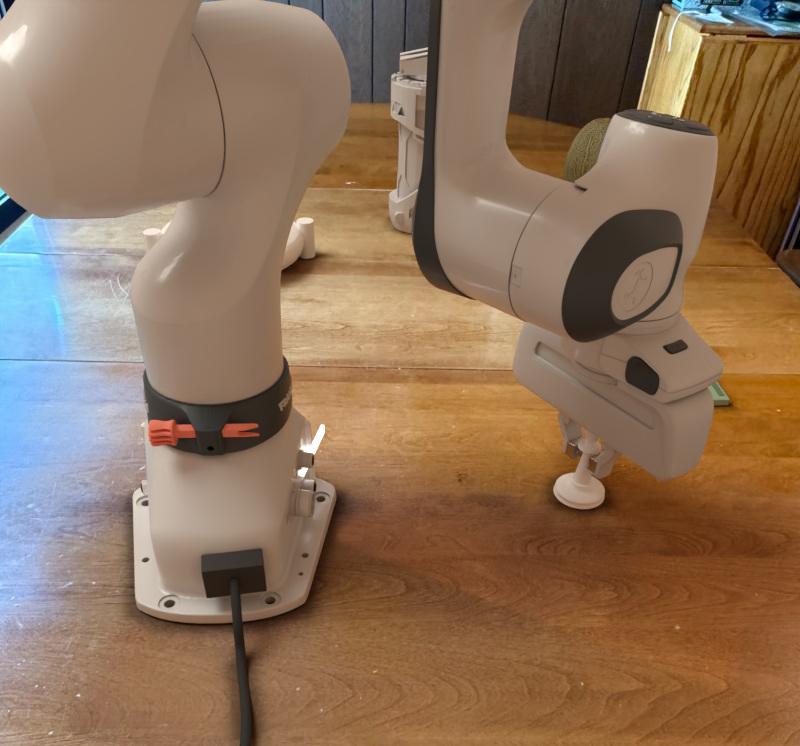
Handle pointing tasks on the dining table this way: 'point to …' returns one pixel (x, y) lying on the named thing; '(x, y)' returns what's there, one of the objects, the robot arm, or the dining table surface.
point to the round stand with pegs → (297, 245)
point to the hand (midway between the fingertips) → (585, 464)
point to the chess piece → (581, 479)
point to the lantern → (408, 134)
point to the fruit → (585, 149)
